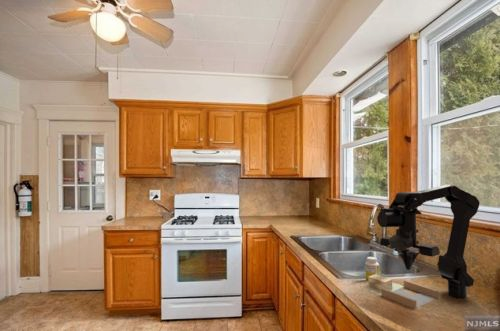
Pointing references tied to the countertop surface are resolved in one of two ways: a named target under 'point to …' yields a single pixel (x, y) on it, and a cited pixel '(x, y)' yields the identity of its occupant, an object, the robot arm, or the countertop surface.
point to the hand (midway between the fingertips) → (408, 269)
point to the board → (408, 294)
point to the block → (379, 282)
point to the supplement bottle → (371, 267)
